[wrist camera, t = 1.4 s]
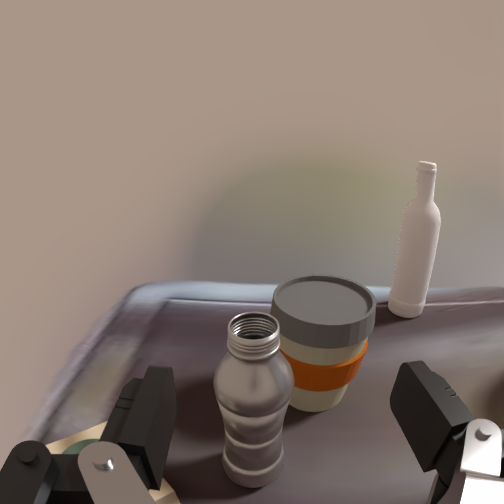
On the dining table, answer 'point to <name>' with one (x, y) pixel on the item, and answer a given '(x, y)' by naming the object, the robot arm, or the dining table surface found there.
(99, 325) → the dining table surface
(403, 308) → the bottle
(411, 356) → the dining table surface
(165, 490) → the base block
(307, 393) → the reusable coffee cup
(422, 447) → the robot arm
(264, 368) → the plastic bottle
